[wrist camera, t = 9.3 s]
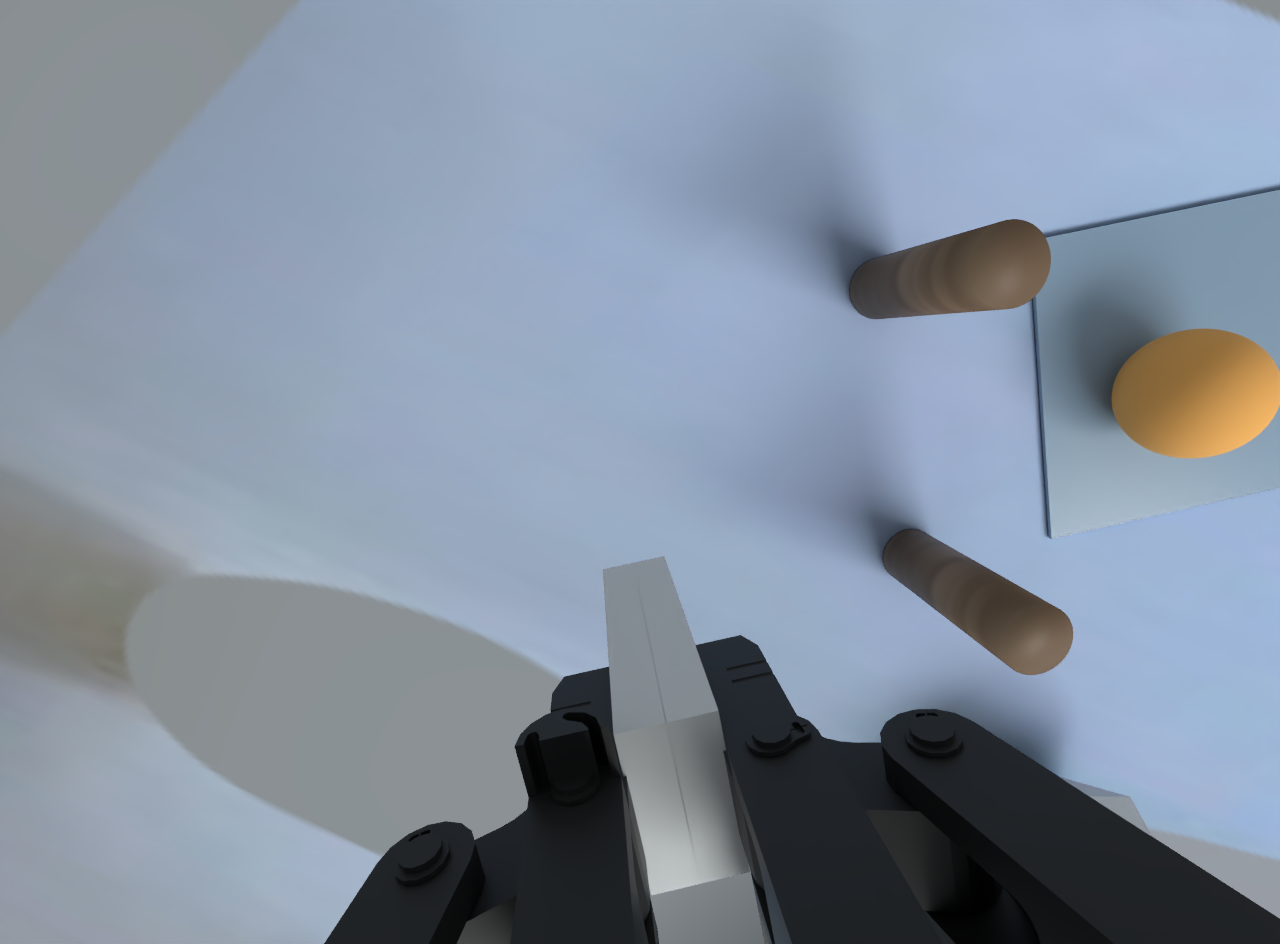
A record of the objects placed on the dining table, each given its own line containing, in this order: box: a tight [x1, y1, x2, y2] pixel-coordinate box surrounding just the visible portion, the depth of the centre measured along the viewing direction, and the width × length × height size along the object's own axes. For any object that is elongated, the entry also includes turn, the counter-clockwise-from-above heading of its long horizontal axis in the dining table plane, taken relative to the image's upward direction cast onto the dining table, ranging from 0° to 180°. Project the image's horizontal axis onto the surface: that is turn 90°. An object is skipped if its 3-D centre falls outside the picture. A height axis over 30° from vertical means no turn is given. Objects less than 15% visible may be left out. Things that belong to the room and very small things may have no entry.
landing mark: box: [1033, 190, 1280, 539], centre depth 30 cm, size 14×14×1 cm
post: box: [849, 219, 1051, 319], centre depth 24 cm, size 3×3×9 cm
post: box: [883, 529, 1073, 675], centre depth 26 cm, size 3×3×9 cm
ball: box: [1112, 328, 1280, 458], centre depth 27 cm, size 6×6×6 cm
